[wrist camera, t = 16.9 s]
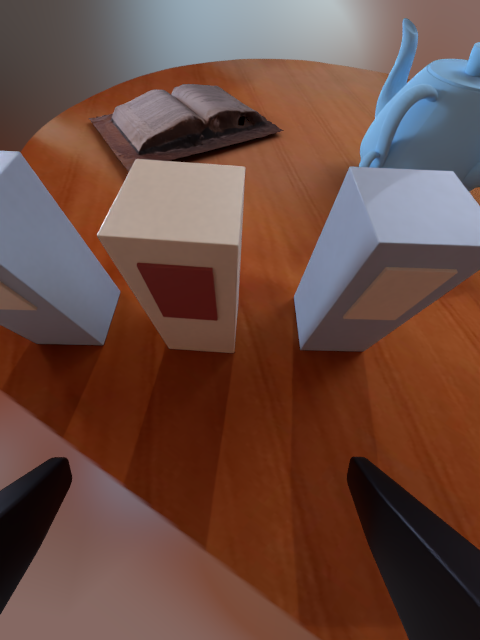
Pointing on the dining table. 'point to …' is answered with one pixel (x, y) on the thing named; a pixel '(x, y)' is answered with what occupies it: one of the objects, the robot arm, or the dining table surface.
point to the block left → (47, 266)
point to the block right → (385, 255)
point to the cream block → (181, 248)
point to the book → (179, 124)
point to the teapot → (428, 116)
